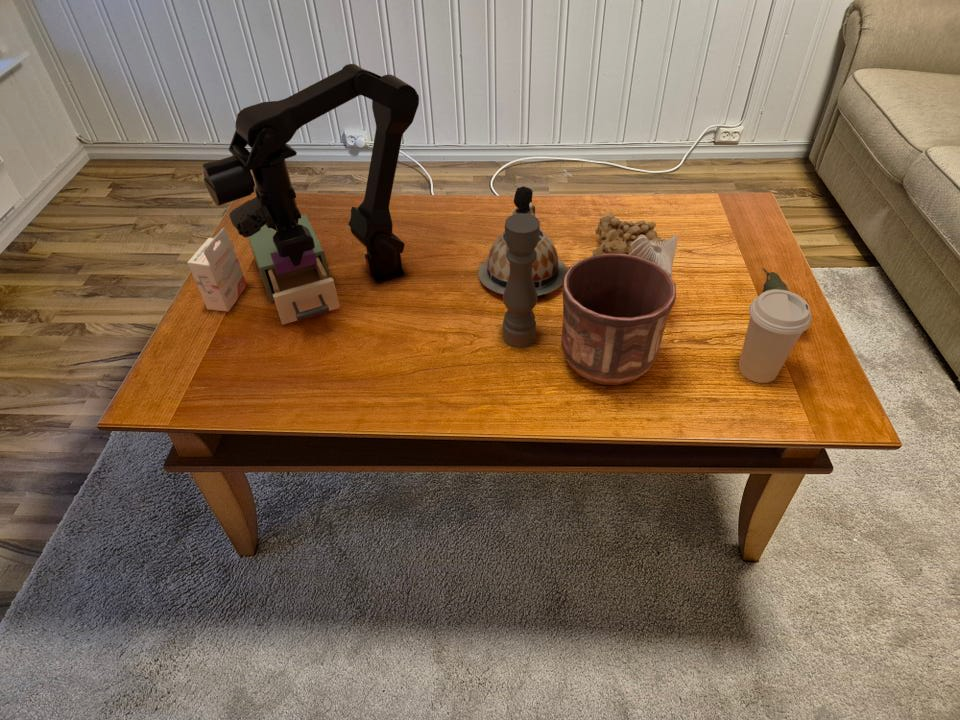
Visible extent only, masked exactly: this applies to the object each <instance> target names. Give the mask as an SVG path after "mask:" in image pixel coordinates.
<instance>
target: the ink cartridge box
mask: <svg viewBox="0 0 960 720" xmlns="http://www.w3.org/2000/svg"><path fill="white" fill-rule="evenodd" d="M186 263H187V265H188V268H189V270H190V272H191V274H192V277H193V279H194V282H195V284H196V286H197V289H198V291H199V292H200V295H201V298H202V300H203V302H204V304H205V307H206V309H207V310H208V311H209V310H210V311H219V312H230V311H231V309H232V308H233V306H234V305H235V304H236V302H237V301H238V299H239V298H240V297H241V295H242V294H243V292H245V290H246V288H247V286H248V285H247V281H246V280H245V279H246V278H245V276H244V273H243V271H242V268H241V265H240V262H239V260H238V256H237V253H236V250H235V248H234V245H233V243H232V240H231V238H230V237H229V234H228V232H227V230H226V228H225V227H222V228H221V229H220V230H219V232H218V233H217V234H216V235H215V237H208V238H207V239H206V240H205V241H204V242H203V244H201V246H200V247H199V248H198V249H197V251H196V252H195V253H194V254H193V255H192V256H191V257H190V259H189V260H188V261H187V262H186Z"/></svg>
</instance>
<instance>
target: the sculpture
mask: <svg viewBox="0 0 960 720" xmlns="http://www.w3.org/2000/svg"><path fill="white" fill-rule="evenodd" d="M761 269H762V270H763V272H764V273H765V274H766V280H765V282H764V283H763V289H762V292H761V293H763V292H765V291H768V290H774V289H779V290H786V291H790V290H789V288H788V285H787V284H786V283H785V282H784V281H783V280H782V278H781V276H780V275H779V274H778V273H776V272H774V271H770V272H768V271H767V270H766V268H765V267H761Z"/></svg>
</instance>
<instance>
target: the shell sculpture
mask: <svg viewBox="0 0 960 720" xmlns="http://www.w3.org/2000/svg"><path fill="white" fill-rule="evenodd" d="M665 240H666V241H665ZM665 240H664V241H663V243H662V241H661V242H660V244H659V243H658V248H657V244H656V242H655V241H654V243H653V242H652V241H651V240H650V241H649V240H648V239H647V237H646V236H645V235H640V236H639V237H638V239H636V240H635V241H633V242H632V243H631V245H630V247H631V249H632V252H631V253H630V254H629V255H632V256H637V257H641V258H643V259H644V258H645V259H646V260H648V261H651V262H653V263H656V264H657V265H658V266H660V267H661V268H662V269H663V270H665V271H666V272H667V273H669V275H670V276H671V278H672V279H673V263H674V259H675V255H676V252H677V249H678V248H677V247H678V241H679V235H678V234H675V235H674V236H671V238H667V239H665Z"/></svg>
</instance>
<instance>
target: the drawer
mask: <svg viewBox="0 0 960 720" xmlns="http://www.w3.org/2000/svg"><path fill="white" fill-rule="evenodd" d="M316 260H317V264H314V265H311V266H307V267H304V268H300V269H296V270H293V271H289V272H286V273H282V274H279V275H278V274H277V272H276V269H275V267H274V268H270V269H267V272H268V276H269V279H270V282H271V285H272V288H273V290H274V294H273V297H274V301H273V302H274V303H275V307H276V310H277V313H278V316H279V320H280V322H281V325H287V324H290V323H293V322H296V321H298V322H299V321H302V320H305V319H308V318H309V319H310V318H312V317H315V316H316V317H317V316H319V315H322V314H327V313H329V312H330V311H333V310H337V309H340V308H341V306H340V301H339V298H338V294H337V288H336V285H335V280H334V278H333V277H330V278H327V274H326V272H325V270H324V268H323V266H322V264H321V262H320V260H319V258H318V256H316Z"/></svg>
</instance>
